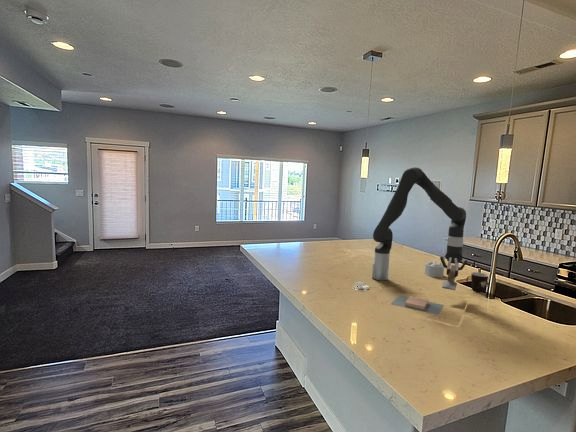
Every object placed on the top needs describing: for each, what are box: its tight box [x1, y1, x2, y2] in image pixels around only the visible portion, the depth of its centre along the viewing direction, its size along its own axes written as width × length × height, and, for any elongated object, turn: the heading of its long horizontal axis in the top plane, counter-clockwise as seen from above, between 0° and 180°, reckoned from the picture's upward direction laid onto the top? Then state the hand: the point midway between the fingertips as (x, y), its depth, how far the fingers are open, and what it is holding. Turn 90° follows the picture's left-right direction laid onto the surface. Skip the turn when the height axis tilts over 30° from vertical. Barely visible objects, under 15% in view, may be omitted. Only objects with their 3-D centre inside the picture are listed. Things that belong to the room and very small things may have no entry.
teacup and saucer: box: [352, 281, 370, 292], centre depth 184 cm, size 9×8×4 cm
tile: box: [405, 295, 430, 310], centre depth 160 cm, size 9×2×11 cm
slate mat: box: [390, 294, 444, 316], centre depth 160 cm, size 22×16×1 cm
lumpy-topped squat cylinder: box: [424, 260, 445, 278], centre depth 218 cm, size 10×13×9 cm
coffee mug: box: [465, 271, 489, 294], centre depth 187 cm, size 12×9×10 cm
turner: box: [442, 264, 458, 291], centre depth 170 cm, size 6×18×4 cm, turn 146°
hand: (452, 276), depth 171 cm, fingers closed on turner, 2 cm apart
